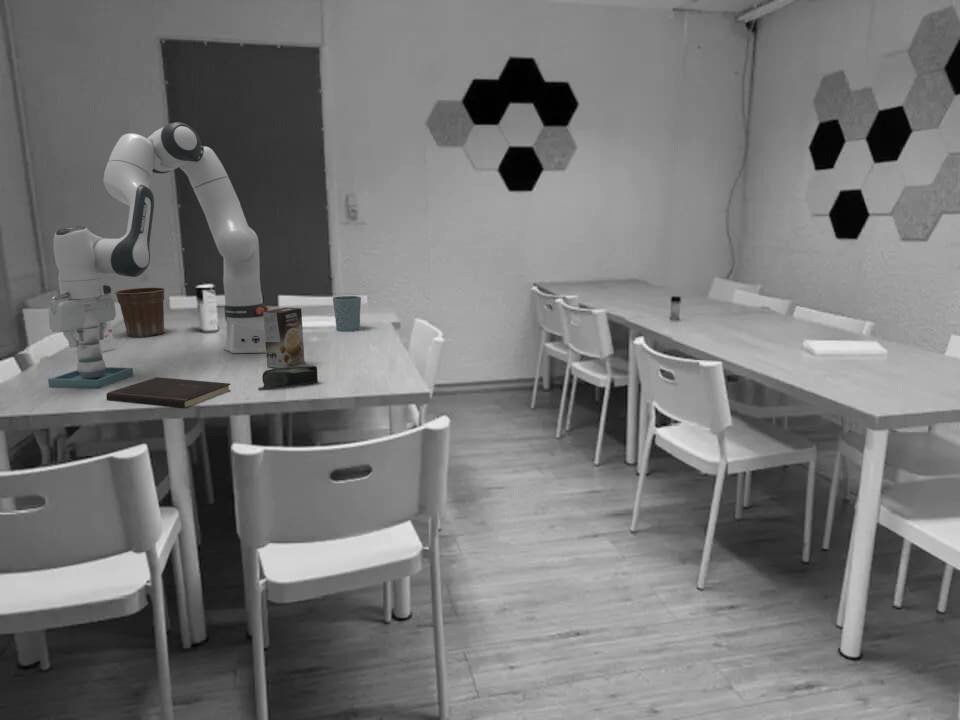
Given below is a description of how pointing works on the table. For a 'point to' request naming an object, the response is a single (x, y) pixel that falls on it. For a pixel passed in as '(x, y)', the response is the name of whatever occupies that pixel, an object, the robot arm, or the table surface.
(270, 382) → the black long block
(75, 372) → the tray
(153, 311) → the plant pot
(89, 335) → the plastic bottle
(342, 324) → the blue cup
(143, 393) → the hardcover book
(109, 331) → the ink cartridge box
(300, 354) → the cookie box
